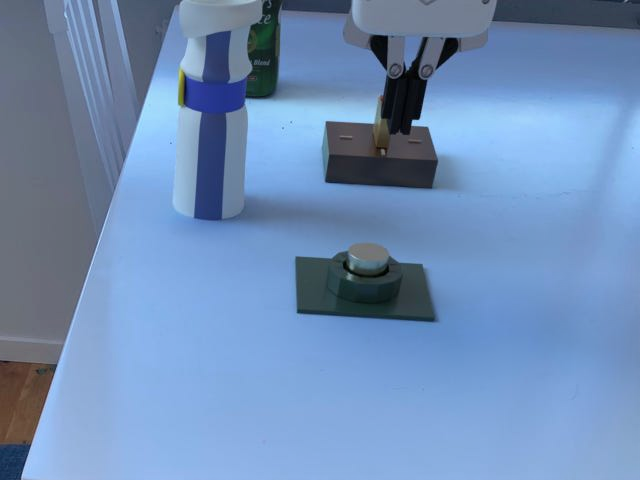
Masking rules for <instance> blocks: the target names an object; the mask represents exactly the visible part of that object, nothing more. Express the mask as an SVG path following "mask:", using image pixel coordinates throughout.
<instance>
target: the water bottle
mask: <svg viewBox="0 0 640 480" xmlns="http://www.w3.org/2000/svg"><path fill="white" fill-rule="evenodd" d="M178 11H179V13H178V16H179V17H178V20H179V26H180V29H181V32H182V35H183V36H182V37H183V39H187V45H186V49H185V53H184V56H183V58H182V59H181V61H180V63H179V67H178V88H177V105H178V106H179V110H178V115H177V127H176V146H175V147H176V148H175V164H174V165H175V166H174V167H175V168H174V178H173V180H174V181H173V191H172V207H173V208H174V210H175V211H176V212H177V213H179V214H181V215H182V216H185V217H188V218H191V219H195V220H201V221H221V220H226V219H231V218H233V217H236V216H238V215H239V214H241V213H242V212H243V210H244V207H245V180H246V179H245V177H246V160H247V159H246V158H247V157H246V156H247V144H248V130H249V129H248V128H249V116H248V114H249V113H248V109H247V106H246V96H247V95H246V84H247V75H248V74H249V73H250V72H251V71H252V65H251V62H250V61H249V58H248V53H247V41H248V35H249V31H250V26H251V25H253V24H255V23H257V22H259V21H260V20H261V18H262V0H181V1H180V3H179V9H178Z"/></svg>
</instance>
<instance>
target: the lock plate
mask: <svg viewBox="0 0 640 480" xmlns="http://www.w3.org/2000/svg"><path fill="white" fill-rule="evenodd" d="M373 126H374V123H371V122H370V123H368V122H353V121H335V120H334V121H333V120H325V123H324V131H323V138H322V143H321V153H322V163H323V175H324V182H325V183H337V184H338V183H340V184H354V185H370V186H371V185H372V186H391V187H406V188H423V189H432V188H433V185H434V181H435V176H436V172H437V169H438V164H439V159H438V155H437V152H436V148H435V145H434V141H433V138H432V135H431V132H430V131H431V130H430V129H429V126H423V125H421V126H420V125H411V131H410V135H402V133H400V130H399V133H396V135H391V136H390V141H389V147H388V148H379V147H376V145H375V139H374V134H373Z"/></svg>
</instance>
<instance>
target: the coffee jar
mask: <svg viewBox="0 0 640 480" xmlns="http://www.w3.org/2000/svg"><path fill="white" fill-rule="evenodd" d="M282 6H283V0H262V18H261V20H260V21H259V22H257V23H255V24H253V25H251V26H250V31H249V35H248V41H247V53H248V58H249V61H250V62H251V65H252V71H251V72H250V73H249V74H248V75H247V84H246V96H249V97H250V96H251V97H265V96H267V95H269V94H271V93H273V92H274V91H275V90H276V89H277V87H278V84H279V76H280V63H281V62H280V60H281V59H280V58H281V57H280V56H281V26H282V8H283V7H282Z"/></svg>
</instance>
